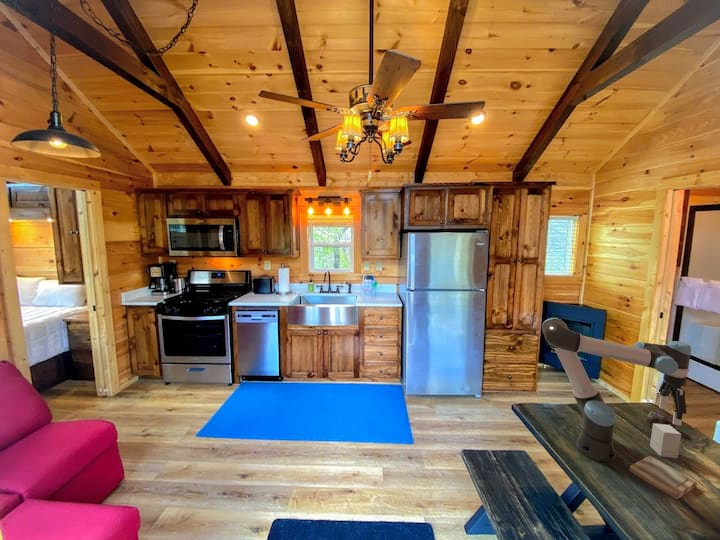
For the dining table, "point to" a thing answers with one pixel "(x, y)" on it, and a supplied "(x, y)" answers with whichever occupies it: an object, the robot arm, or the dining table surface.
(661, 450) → the supplement box
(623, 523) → the dining table surface
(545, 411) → the dining table surface
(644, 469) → the plinth
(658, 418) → the rock
